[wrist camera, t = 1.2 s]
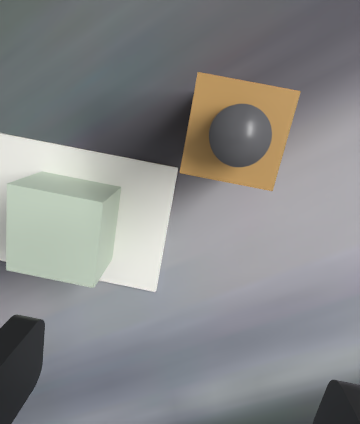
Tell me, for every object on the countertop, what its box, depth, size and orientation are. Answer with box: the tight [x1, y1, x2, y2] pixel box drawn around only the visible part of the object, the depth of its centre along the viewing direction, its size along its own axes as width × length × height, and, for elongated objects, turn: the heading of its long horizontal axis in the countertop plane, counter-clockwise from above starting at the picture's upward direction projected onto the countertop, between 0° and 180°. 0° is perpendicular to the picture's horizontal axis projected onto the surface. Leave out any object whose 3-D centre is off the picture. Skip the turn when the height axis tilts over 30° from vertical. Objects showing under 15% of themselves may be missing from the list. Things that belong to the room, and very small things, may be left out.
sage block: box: [6, 171, 121, 288], centre depth 26 cm, size 7×7×5 cm
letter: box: [0, 133, 178, 292], centre depth 28 cm, size 12×16×1 cm
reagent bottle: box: [180, 72, 301, 191], centre depth 19 cm, size 5×5×12 cm
